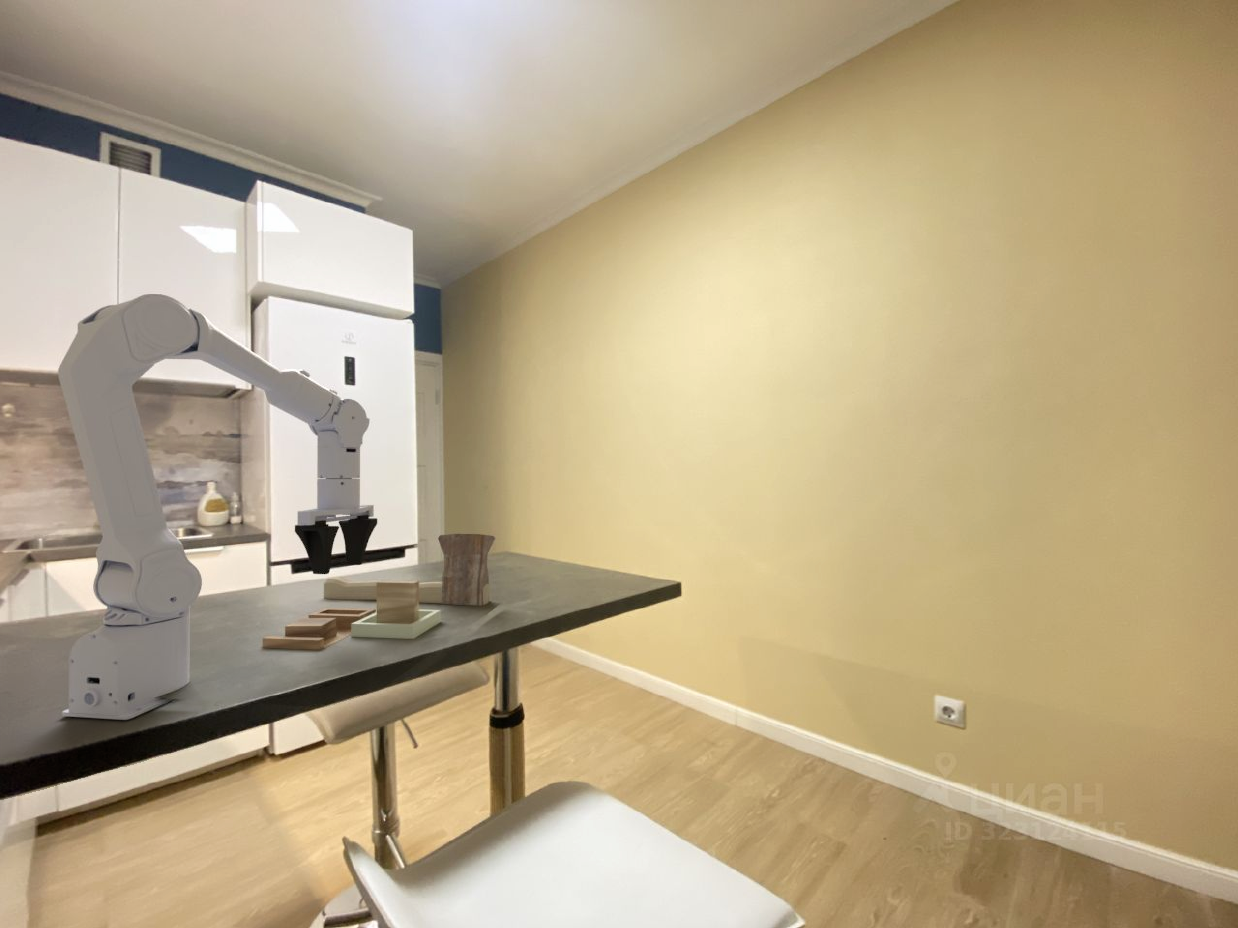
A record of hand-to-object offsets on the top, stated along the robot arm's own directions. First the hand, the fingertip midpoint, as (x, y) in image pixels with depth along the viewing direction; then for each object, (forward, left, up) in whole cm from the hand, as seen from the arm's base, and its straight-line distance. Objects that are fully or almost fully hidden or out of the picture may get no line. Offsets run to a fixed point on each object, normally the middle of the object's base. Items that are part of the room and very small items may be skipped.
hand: (338, 568), depth 80 cm
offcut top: (-4, +1, -8) cm, 9 cm away
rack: (-1, +1, -10) cm, 10 cm away
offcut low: (-4, +1, -9) cm, 10 cm away
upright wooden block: (+2, -8, -10) cm, 13 cm away
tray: (+2, -8, -10) cm, 13 cm away
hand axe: (+19, -1, -11) cm, 22 cm away
